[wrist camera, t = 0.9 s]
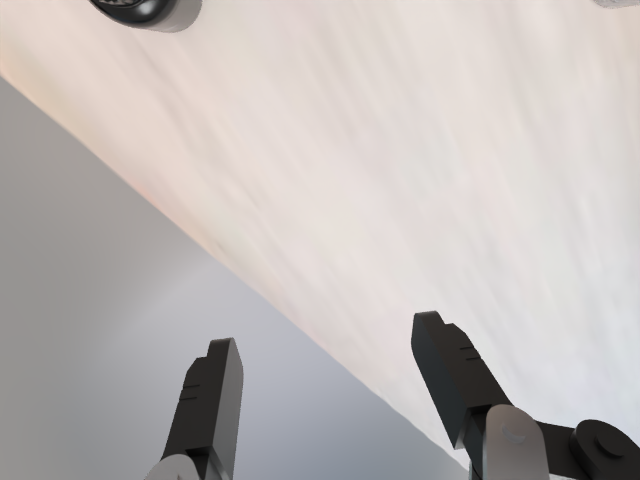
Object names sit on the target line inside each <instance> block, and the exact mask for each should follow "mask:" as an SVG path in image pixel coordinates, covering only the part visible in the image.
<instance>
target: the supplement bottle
mask: <svg viewBox="0 0 640 480" xmlns="http://www.w3.org/2000/svg"><path fill="white" fill-rule="evenodd" d="M88 1H89V2H90V3H91V4H92V5H93V6H94V7H95V8H96V9H97V10H99V11H100V12H101V13H102V14H104V15H105V16H107V17H108V18H110V19H111V20H113V21H115V22H117V23H120V24H122V25H125V26H128V27H132V28H138V29H145V30H151V31H158V32H165V33H174V32H179V31H182V30H184V29H186V28H188V27H189V26H190V25H191V24H192V23H193V22H194V21H195V20H196V18H197V17H198V15H199V12H200V10H201V6H202V0H88Z"/></svg>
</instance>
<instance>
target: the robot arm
mask: <svg viewBox="0 0 640 480" xmlns="http://www.w3.org/2000/svg"><path fill="white" fill-rule="evenodd" d="M594 1H595V2H596V3H597V4H599V5H601V6H603V7H606V8H619V7H628V6H636V5H640V0H594ZM411 347H412V352H413V355H414V358H415V360H416V363H417V365H418V367H419V370H420V372H421V374H422V377H423V379H424V381H425V383H426V386H427V388H428V390H429V393H430V395H431V397H432V400H433V402H434V404H435V406H436V409H437V411H438V413H439V416H440V418H441V420H442V423H443V425H444V427H445V430H446V432H447V434H448V436H449V439H450V441H451V443H452V446H453V448H454V450H456V449H463V448H465V449H466V451H467V453H468V455H469V457H470V463H469V480H640V448H639V447H638V446H637V445H636V444H635V443H634V442H633V441H632V440H631V439H630V438H629V437H628V436H627V435H626V434H624V433H623V432H622V431H620V430H619V429H617V428H616V427H614V426H612V425H610V424H608V423H605V422H602V421H599V420H591V419H589V420H584V421H581V422H580V423H579V424H578V426H577V427H576V428H569V427H564V426H558V425H553V424H547V423H543V422H539V421H536V420H534V419H533V418H532V417H531V416H529V415H528V414H527V413H526V412H524V411H523V410H521V409H519V408H517V407H515V406H514V405H513V404H512V403H511V402H510V400H509V399H508V398H507V396H506V395H505V393H504V392H503V390H502V388H501V387H500V385H499V384H498V382H497V381H496V379H495V378H494V376H493V375H492V373H491V372H490V370H489V368H488V367H487V365H486V364H485V362H484V361H483V359H481V356H480V355H479V353H478V352H477V350H476V349H475V348H474V345H473V344H472V342H471V341H470V339H469V338H468V336H467V335H466V333H465V332H463V331H462V330H461V329H460V328H458V327H457V326H456V325H455V324H453V323H451V324H445V323H444V322H443V320H442V318H441V317H440V315H439V313H438V312H437V311H429V312H422V313H415V315H414V320H413V329H412V337H411ZM242 388H243V366H242V362H241V359H240V356H239V353H238V349H237V347H236V343H235V341H234V338H226V339H217V340H212V341H211V342H210V345H209V349H208V353H207V357H201V358H196V360H195V361H194V363H193V364H192V365H191V367H190V368H189V370H188V371H187V374H186V377H185V381H184V384H183V390H182V391H181V394H180V398H179V403H178V405H177V408H176V412H175V415H174V419H173V422H172V426H171V429H170V433H169V436H168V440H167V443H166V447H165V450H164V453H163V456H162V458H161V460H160V461H159V463H158V464H156V465H155V466H154V467H153V468H152V470H151V471H150V472H149V474H148V475H147V476H146V478H145V479H144V480H232V479H233V470H234V461H235V451H236V443H237V434H238V425H239V416H240V406H241V397H242Z"/></svg>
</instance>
